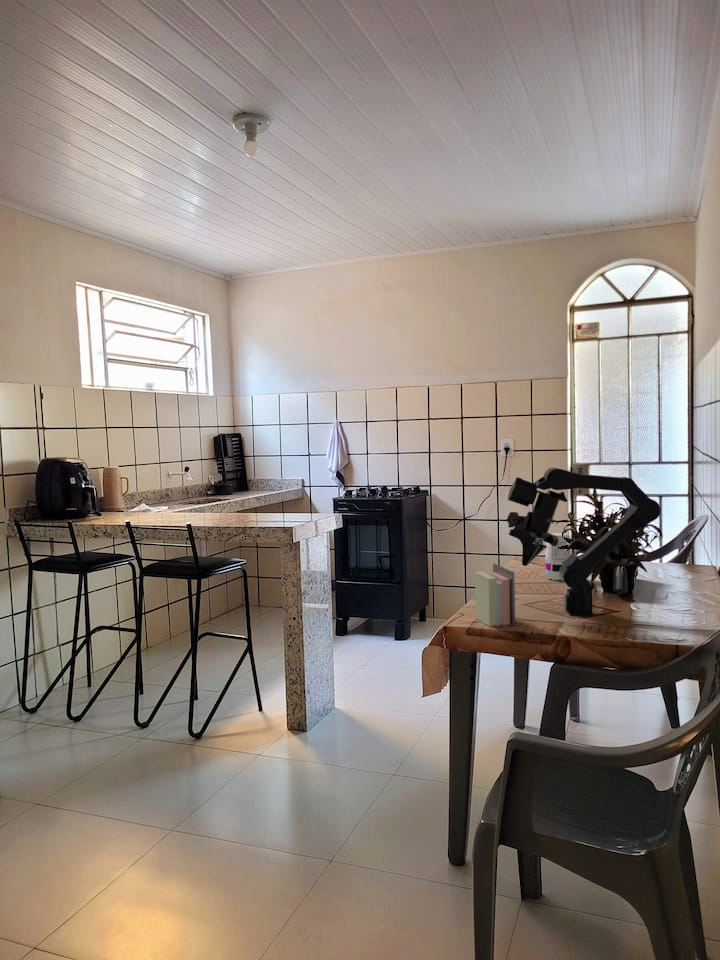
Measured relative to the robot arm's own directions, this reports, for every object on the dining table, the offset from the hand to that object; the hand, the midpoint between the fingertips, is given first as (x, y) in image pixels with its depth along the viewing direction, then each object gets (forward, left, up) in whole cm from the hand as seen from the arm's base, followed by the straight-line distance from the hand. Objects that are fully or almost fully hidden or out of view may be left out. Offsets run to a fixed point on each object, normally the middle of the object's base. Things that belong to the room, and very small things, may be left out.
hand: (524, 565), depth 193 cm
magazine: (-35, -28, -13) cm, 47 cm away
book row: (+10, +8, -13) cm, 18 cm away
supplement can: (-18, -43, -13) cm, 48 cm away
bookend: (+6, +7, -13) cm, 16 cm away
